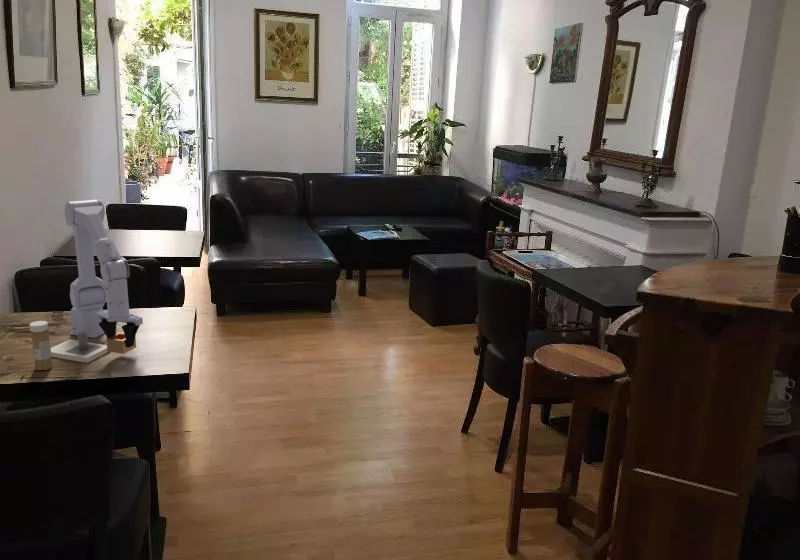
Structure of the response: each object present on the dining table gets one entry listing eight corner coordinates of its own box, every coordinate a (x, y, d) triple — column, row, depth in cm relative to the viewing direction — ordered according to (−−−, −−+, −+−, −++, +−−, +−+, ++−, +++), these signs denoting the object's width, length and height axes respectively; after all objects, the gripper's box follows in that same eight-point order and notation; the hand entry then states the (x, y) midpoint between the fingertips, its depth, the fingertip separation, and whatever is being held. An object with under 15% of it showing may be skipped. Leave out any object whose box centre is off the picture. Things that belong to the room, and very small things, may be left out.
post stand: (45, 355, 193) (42, 334, 191) (70, 343, 202) (68, 324, 200) (87, 362, 189) (85, 341, 187) (111, 350, 198) (109, 330, 196)
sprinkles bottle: (32, 367, 184) (26, 322, 181) (49, 363, 188) (43, 319, 184) (39, 372, 182) (33, 327, 178) (56, 367, 185) (50, 322, 181)
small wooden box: (107, 351, 191) (106, 338, 190) (120, 344, 196) (119, 332, 195) (123, 354, 190) (122, 341, 188) (136, 347, 195) (135, 334, 194)
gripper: (86, 301, 187) (91, 346, 191) (129, 308, 183) (133, 353, 187) (104, 294, 194) (108, 337, 197) (145, 300, 190) (149, 344, 193)
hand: (121, 344), depth 193 cm, fingers closed on small wooden box, 6 cm apart
